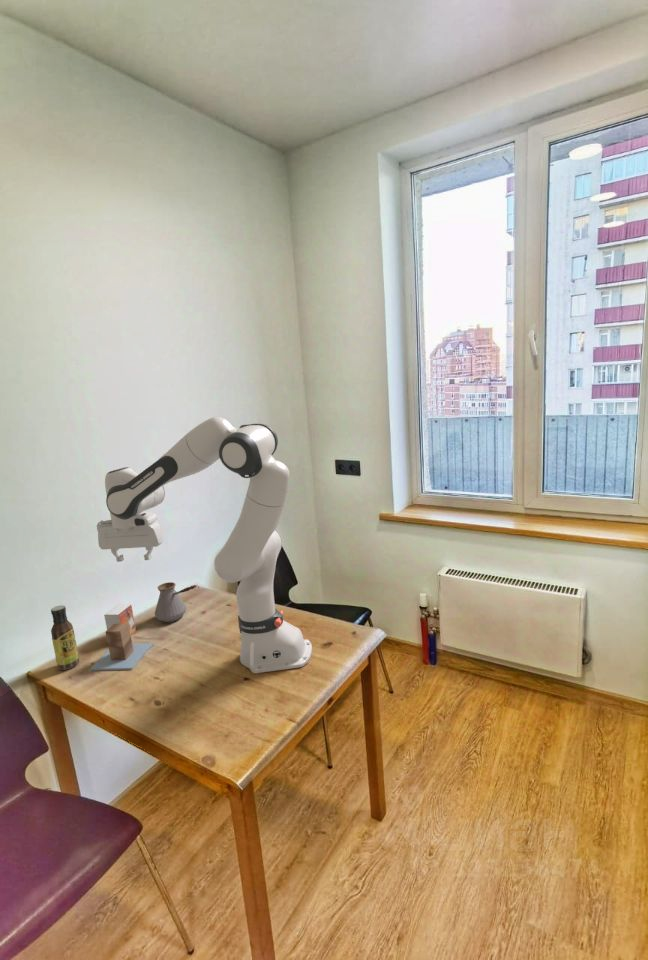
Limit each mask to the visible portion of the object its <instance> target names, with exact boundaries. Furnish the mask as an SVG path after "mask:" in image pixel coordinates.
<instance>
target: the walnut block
mask: <svg viewBox="0 0 648 960" xmlns="http://www.w3.org/2000/svg"><path fill="white" fill-rule="evenodd" d="M105 636H106V642H107V646H108V650H109V652H110V657H111V660H126V659H127V658H128V657H129V656H130V654H131V653H132V652H133V645H132V644H133V642H132V635H130V629H129V624H128V623H120V624H113V625H112V626H111V627H110V628H109V629H108V630H107V629H106V631H105Z"/></svg>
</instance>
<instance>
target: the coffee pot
mask: <svg viewBox="0 0 648 960" xmlns="http://www.w3.org/2000/svg"><path fill="white" fill-rule="evenodd" d="M175 587H176V583H175V582H172V581H171V582H164V583H161V584H159V585H158V586H157V590H158V591H159V596H158V601H157V604H156V607H155V609H154V610H155V611H154V616H155V618H156V619H157V620H158V621H161V622H162V623H173V622H176V621H178V620H180V619H181V618H182V617H183V616H184V614H185V613H186V610H187V605H186V604H185V602H184V601H183V599H182V598H181V596H180V595H179V594H182V593H185V592H189V591H190V590H194V591H195V592H197V591H199V590H200V586H199V585H197V584H195V585H191V586H187V587H185V588H184V589H181V590H179V591H176V589H175ZM197 587H198V589H195V588H197Z"/></svg>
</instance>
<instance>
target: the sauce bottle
mask: <svg viewBox="0 0 648 960" xmlns="http://www.w3.org/2000/svg"><path fill="white" fill-rule="evenodd" d="M66 610H67V608H66V606H65V605H62V604H61V605H56V606H54V607H52V608H51V609H50V613H51V616H52V619H53V620H52V622H53V624H52V627H51V630H50V633H51V640H52V644H53V645H52V646H53V650H54V656H55V660H56V661H55V662H56V665H57V669H58V670H60V671H65V670H70V669H72V668H75V667H77V665H78V664H79V663H80V660H79V651H78V647H77V641H76V636H75V630H74V625H73V624H72V623H71V622H70V621H69V620H68V617H67V614H66V612H67V611H66Z"/></svg>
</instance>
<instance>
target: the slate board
mask: <svg viewBox="0 0 648 960" xmlns="http://www.w3.org/2000/svg"><path fill="white" fill-rule="evenodd" d="M132 645H133V652H132V653H131V654H130V656H129V657H128V658H127V659H126V660H111V657H110V652H109V649H108V650H106V651H105V653H104V654H102V655H101V657H100V658H99V659H98V660H97V661H96V662H95V663H94V664H93V665H92V666H91V667H90V668H89V671H122V670H123V671H124V670H125V671H127V670H128V671H130V670H133V669H134V668H135V667H136V666H137V665H138V663H139V662H140V661H141V660H142V659H143V658H144V656H145V655H146V654H147V653H148V652H149V651H150V649H151V648H152V647H153V645H154V643H153V642H150V643H149V642H148V643H147V642H145V643H141V642H140V643H132Z"/></svg>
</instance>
